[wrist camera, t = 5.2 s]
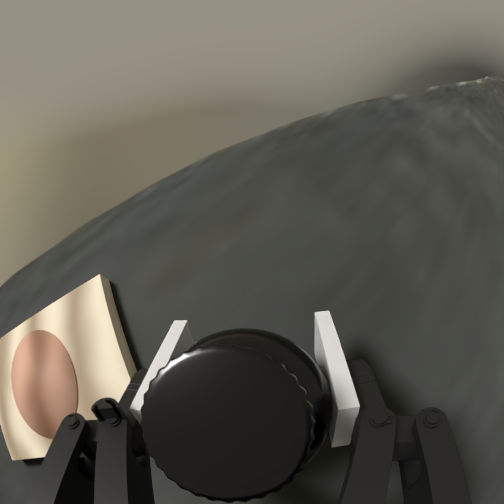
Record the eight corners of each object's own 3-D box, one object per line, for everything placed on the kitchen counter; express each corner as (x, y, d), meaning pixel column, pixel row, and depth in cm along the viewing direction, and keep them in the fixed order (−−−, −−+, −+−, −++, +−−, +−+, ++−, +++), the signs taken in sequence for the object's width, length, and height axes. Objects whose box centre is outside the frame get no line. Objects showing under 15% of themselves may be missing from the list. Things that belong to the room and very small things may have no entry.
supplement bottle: (192, 382, 18) (76, 373, 7) (273, 328, 19) (253, 252, 8) (248, 460, 15) (195, 553, 4) (333, 405, 16) (404, 440, 5)
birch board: (109, 280, 22) (98, 273, 20) (161, 428, 16) (151, 431, 15) (-5, 351, 20) (-15, 348, 18) (22, 459, 14) (11, 460, 13)
